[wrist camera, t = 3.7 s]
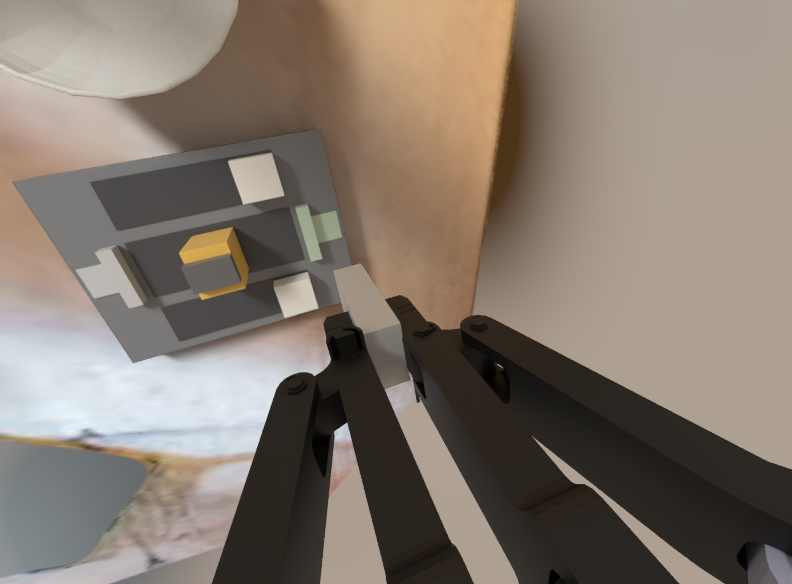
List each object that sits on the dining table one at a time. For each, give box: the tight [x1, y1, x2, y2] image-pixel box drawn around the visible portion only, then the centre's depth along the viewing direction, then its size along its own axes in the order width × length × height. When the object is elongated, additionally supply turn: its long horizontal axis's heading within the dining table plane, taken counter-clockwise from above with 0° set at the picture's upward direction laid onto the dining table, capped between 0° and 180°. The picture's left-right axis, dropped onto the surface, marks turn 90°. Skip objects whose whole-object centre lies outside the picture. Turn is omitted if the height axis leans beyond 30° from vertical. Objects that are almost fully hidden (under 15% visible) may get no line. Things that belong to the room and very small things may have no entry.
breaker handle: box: [179, 227, 249, 300], centre depth 25 cm, size 3×4×5 cm
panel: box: [12, 129, 352, 363], centre depth 27 cm, size 20×15×4 cm
